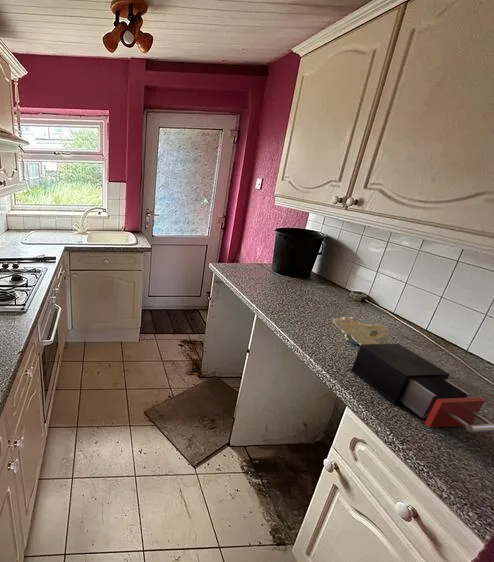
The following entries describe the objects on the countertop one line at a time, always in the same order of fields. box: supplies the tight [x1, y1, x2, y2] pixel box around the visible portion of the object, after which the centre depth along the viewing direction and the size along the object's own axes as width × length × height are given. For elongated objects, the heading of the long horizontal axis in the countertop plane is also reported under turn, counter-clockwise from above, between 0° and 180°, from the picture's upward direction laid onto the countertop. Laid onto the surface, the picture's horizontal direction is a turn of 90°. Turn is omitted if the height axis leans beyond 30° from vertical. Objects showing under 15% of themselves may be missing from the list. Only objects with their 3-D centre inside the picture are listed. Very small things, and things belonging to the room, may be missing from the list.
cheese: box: [332, 316, 391, 346], centre depth 110 cm, size 15×7×15 cm
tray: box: [398, 377, 494, 434], centre depth 78 cm, size 19×11×8 cm, turn 5°
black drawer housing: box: [351, 343, 450, 406], centre depth 89 cm, size 15×13×10 cm
